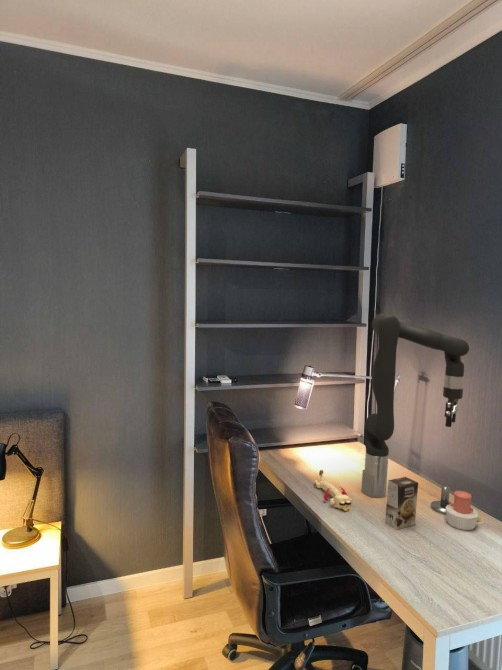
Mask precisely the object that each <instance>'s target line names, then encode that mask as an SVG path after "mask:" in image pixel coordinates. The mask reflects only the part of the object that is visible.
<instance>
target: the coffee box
mask: <svg viewBox="0 0 502 670" xmlns="http://www.w3.org/2000/svg"><path fill="white" fill-rule="evenodd" d="M418 490H419V482H418V481H416V480H414V479H411V478H410V477H408V476H403V477H399V478H394V479H387V491H386V503H385V505H386V507H385V518H384V519H385V521H384V522H385V523H386V524H388V525H389V526H391V527H393V529H395V530H401V529H405V528H408V527H411V526H415V525H416V516H417V506H418V505H417V504H418V503H417V502H418V492H419V491H418Z"/></svg>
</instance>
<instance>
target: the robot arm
mask: <svg viewBox="0 0 502 670" xmlns="http://www.w3.org/2000/svg"><path fill="white" fill-rule="evenodd" d="M371 328H372V330H373V331H374V333H376V334H377V335H378V349H377V353H376V355H375V359H374V361H373V364H372V370H371V389H372V392H373V395H374V398H375V403H376V408H377V409H376V413H371V414H369V415H368V416H367V417H366V420H365V421H364V431H363V432H364V435H363V437H364V439H363V440H364V442H363V443H364V447H365V458H364V459H365V461H364V469H363V470H362V475H361V476H362V477H361V491H360V492H362V493H364V494H365V495H366V496H368V497H370V498H383V497H385V496H387V485H388V467H389V456H390V455H389V453H390V449H389V446H388V445H387V444H386V441H388V440H390V439H391V438H392V436H393V435H394V431H395V411H394V410H395V409H394V403H395V402H394V400H395V384H396V372H397V371H396V367H397V366H396V364H397V350H398V349H397V348H398V340H399V339H403V340H405V341H408V342H412V343H414V344H417V345H420V346H423V347H426V348H430V349H433V350H437V351H442V352H444V353H443V354H444V361H445V372H444V373H445V374H444V379H443V389H442V396H443V397H444V398H446V399H447V401H446V402H445V407H444V408H445V410H444V417H445V427H446V428H451V427H452V426H453V425H452V424H454V423H456V418H457V417H456V416H457V412H458V409H459V408H458V407H459V400H462V399H463V398H464V397H463V395H464V384H465V383H464V381H465V379H464V377H465V376H464V375H465V374H464V373H465V364H464V363H463V362H462V359H461V358H462V357H465V356H466V355H467V354H468V353H469V351H470V345H469V343H468V342H467V341H466V340H464V339H462V338H458V337H454V336H450V335H447V334H443V333H441V332H438V331H436V330H431V329H428V328H424V327H421V326H415V325H413V324H412V325H411V324H407V323H405V322H401V321H399V319H398V317H396V316H395V315H393V314H390V313H380V314H377V315H376V316H374V318H373V320H372V322H371Z"/></svg>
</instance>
